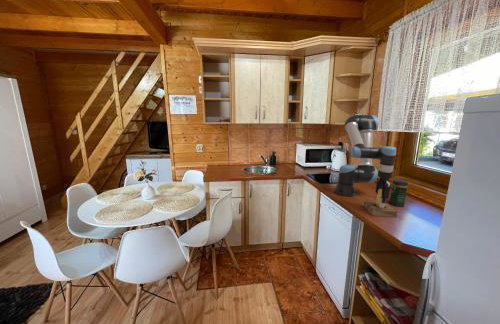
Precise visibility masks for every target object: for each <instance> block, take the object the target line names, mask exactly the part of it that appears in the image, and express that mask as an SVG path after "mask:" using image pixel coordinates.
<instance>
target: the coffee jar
mask: <svg viewBox="0 0 500 324" xmlns="http://www.w3.org/2000/svg"><path fill="white" fill-rule="evenodd" d="M408 186H409V182H408V181H405V180H404V179H402V178H394V179H393V180H392V183H391V190H390V191H391V193H390V194H389V203H390V204H392V205H393V206H397V207H404V206H405V201H406V196H407V195H406V194H407V189H408Z"/></svg>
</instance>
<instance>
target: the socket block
mask: <svg viewBox="0 0 500 324" xmlns="http://www.w3.org/2000/svg"><path fill="white" fill-rule="evenodd" d="M363 208H364V209H365V210H366V211H367V212H368V213H369V215H371V216H372V217H373V216H374V217H387V218H397V216H398V215H397V214H398V211H397V210H396V209H395V208H393V207H392V206H391V205H390V204H388V203H387V202H385V206H384V208H377V207H376V201H370V200H364V201H363Z"/></svg>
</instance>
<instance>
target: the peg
mask: <svg viewBox="0 0 500 324" xmlns="http://www.w3.org/2000/svg"><path fill="white" fill-rule="evenodd" d="M380 197H382V189H378V195H377V194H376V198H377V202H376V201H375V202H376V207H377V208H381V207H379V205H380V199H381V198H380Z"/></svg>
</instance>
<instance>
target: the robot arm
mask: <svg viewBox="0 0 500 324" xmlns="http://www.w3.org/2000/svg"><path fill="white" fill-rule="evenodd" d="M378 128H379V118H378V117H377V116H376V115H373V114H353V115H351V116H349V117H347V119H345V122H344V130H345V131H346V132H347V134H348V138H349V141H350V143H351V148H350V156H351V158H353V159H354V158H356V159H359V163H358V164H357V165H354V164H343V165H341V166H340V167H339V171H338V178H337V179H338V180H337V184H336V186H335V188H334V193H335V194H337V195H338V196H341V197H342V196H343V197H347V198H348V197H349V198H350V197H355V196H356V190H355V186H354V185H355V183H364V184H365V183H366V184H368V183H369V184H370V183H371V184H372V183H375V181H376V185H375V194H376V196H377V195H378V189H382V197H380V198H381V199H380V205H379V207H381V208H384V206H385V203H386V200H387V199H389V198H390V191H391V188H392V183H390V179H392V178H393V172H394V168H395V167H394V166H395V160H396V155H397V147H395V146H389V145H388V146H384V145H383V147H378V146H377V147H373V142H374V141H373V138H374V133H375V132H376V131H377V130H378ZM373 160H379V166H378V170H377V168H376V167H375V165H374V164H373ZM375 202H377V197H376V200H375Z"/></svg>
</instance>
